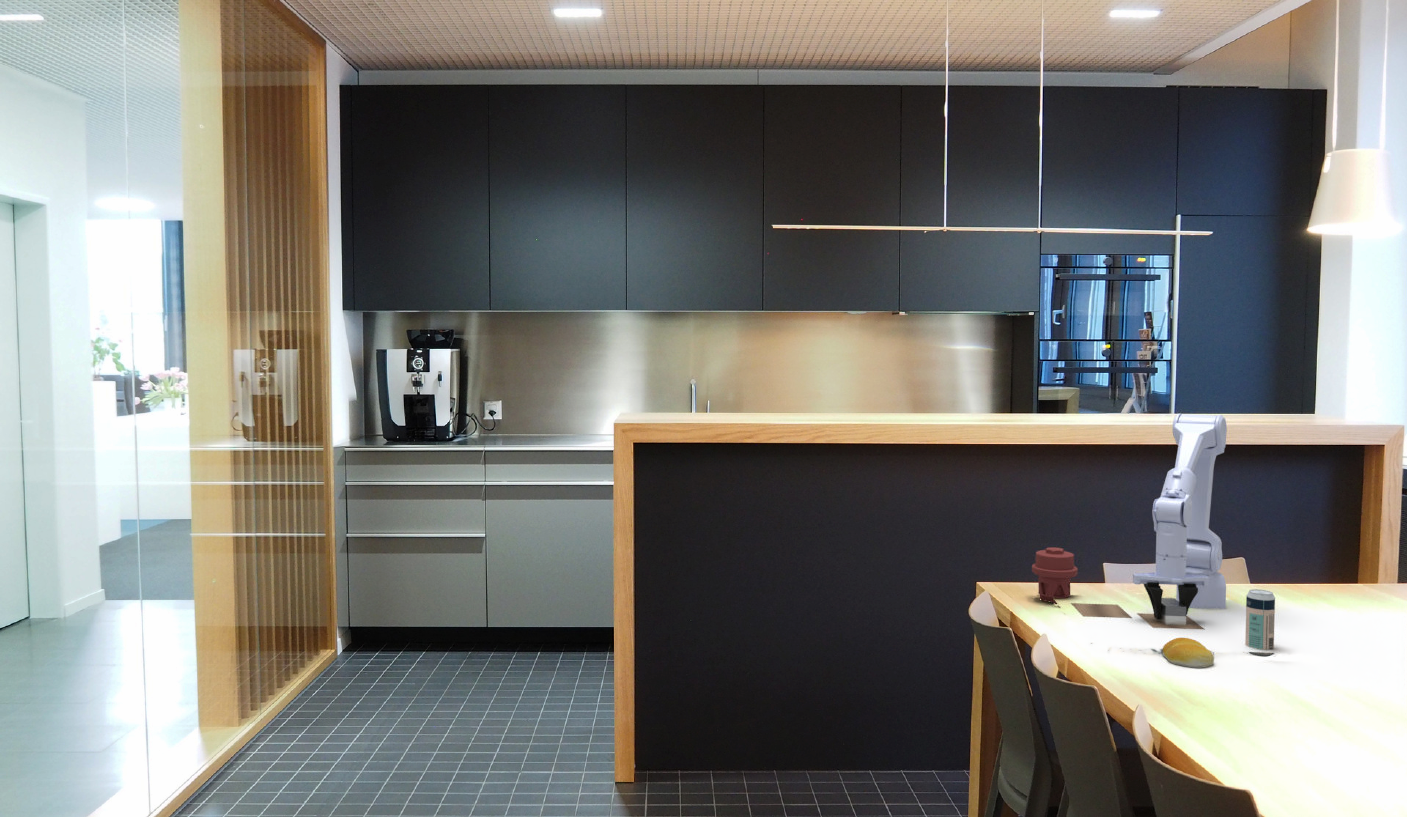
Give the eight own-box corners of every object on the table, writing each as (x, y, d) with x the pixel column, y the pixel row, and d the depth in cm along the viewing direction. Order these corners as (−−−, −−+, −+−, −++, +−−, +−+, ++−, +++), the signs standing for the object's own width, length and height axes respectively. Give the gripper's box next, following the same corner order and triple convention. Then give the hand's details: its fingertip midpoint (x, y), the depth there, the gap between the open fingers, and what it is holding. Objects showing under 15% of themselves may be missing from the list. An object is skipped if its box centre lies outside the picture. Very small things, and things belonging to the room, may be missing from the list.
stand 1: (1117, 611, 210) (1117, 604, 210) (1132, 624, 199) (1132, 617, 199) (1070, 609, 212) (1070, 603, 212) (1083, 623, 201) (1083, 616, 201)
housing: (1174, 616, 200) (1174, 598, 200) (1185, 625, 193) (1186, 606, 193) (1154, 616, 201) (1154, 597, 200) (1165, 625, 194) (1165, 606, 193)
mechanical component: (1067, 595, 224) (1083, 606, 214) (1025, 595, 225) (1039, 606, 215) (1068, 544, 224) (1084, 553, 214) (1026, 544, 224) (1040, 553, 214)
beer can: (1270, 651, 181) (1272, 589, 180) (1276, 658, 176) (1278, 595, 176) (1242, 648, 182) (1243, 587, 182) (1247, 656, 178) (1249, 593, 177)
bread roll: (1172, 668, 172) (1173, 646, 172) (1158, 653, 181) (1158, 632, 181) (1221, 670, 171) (1221, 649, 170) (1204, 655, 179) (1204, 634, 179)
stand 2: (1185, 621, 202) (1185, 614, 202) (1205, 636, 191) (1205, 629, 191) (1136, 620, 203) (1136, 613, 203) (1152, 634, 192) (1153, 627, 192)
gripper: (1140, 557, 193) (1139, 622, 194) (1215, 559, 191) (1214, 625, 192) (1130, 550, 200) (1129, 613, 201) (1202, 552, 198) (1201, 615, 199)
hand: (1169, 618), depth 197 cm, fingers open, 4 cm apart
